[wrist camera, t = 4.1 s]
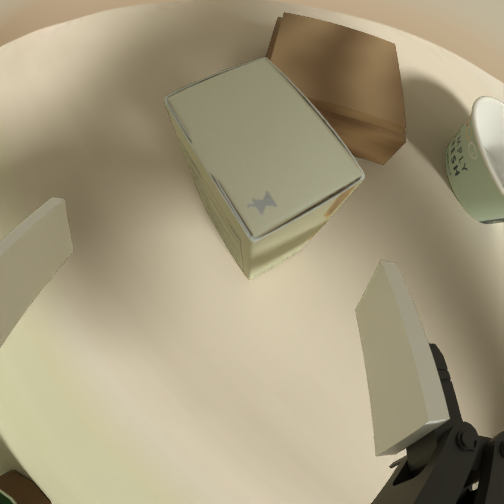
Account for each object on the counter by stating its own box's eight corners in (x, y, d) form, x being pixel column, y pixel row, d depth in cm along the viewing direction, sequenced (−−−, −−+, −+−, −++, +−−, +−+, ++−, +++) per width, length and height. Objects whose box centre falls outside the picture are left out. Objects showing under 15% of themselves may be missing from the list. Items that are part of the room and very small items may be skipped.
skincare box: (302, 250, 20) (378, 184, 8) (247, 282, 20) (257, 256, 8) (254, 174, 21) (267, 49, 9) (201, 203, 21) (159, 93, 9)
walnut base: (380, 74, 24) (399, 43, 19) (383, 164, 22) (412, 135, 17) (273, 46, 24) (278, 8, 19) (251, 131, 22) (254, 92, 17)
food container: (424, 113, 23) (457, 76, 17) (499, 145, 23) (532, 122, 17) (440, 228, 21) (491, 206, 15) (516, 245, 21) (559, 232, 15)
